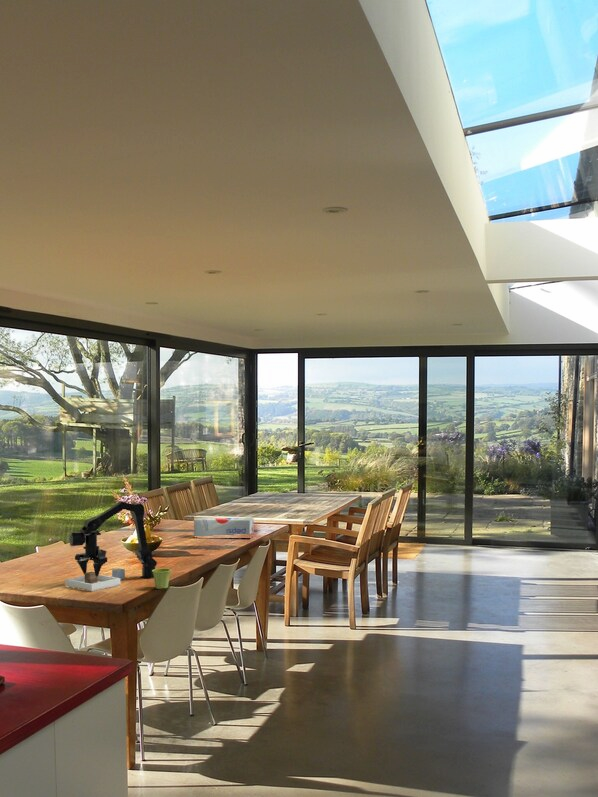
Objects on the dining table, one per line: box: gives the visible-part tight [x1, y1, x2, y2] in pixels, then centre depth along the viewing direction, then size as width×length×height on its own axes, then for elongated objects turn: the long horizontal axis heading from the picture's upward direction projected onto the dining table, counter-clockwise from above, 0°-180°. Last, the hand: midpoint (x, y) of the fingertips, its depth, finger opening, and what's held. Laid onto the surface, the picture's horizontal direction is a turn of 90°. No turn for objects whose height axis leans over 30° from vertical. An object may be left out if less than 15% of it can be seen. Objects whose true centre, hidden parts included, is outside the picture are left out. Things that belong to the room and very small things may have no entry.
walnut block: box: [84, 571, 98, 584], centre depth 393 cm, size 4×4×5 cm
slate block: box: [111, 567, 126, 581], centre depth 406 cm, size 4×4×5 cm
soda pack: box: [193, 517, 255, 537], centre depth 546 cm, size 41×13×14 cm, turn 81°
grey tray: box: [64, 574, 121, 592], centre depth 389 cm, size 20×18×4 cm
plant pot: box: [152, 568, 172, 590], centre depth 385 cm, size 9×9×9 cm
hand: (90, 575), depth 393 cm, fingers open, 9 cm apart
